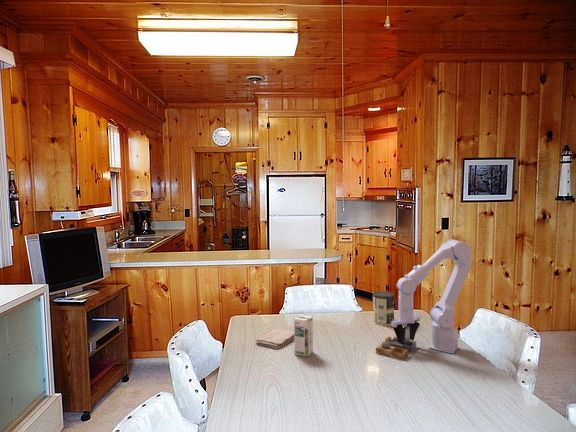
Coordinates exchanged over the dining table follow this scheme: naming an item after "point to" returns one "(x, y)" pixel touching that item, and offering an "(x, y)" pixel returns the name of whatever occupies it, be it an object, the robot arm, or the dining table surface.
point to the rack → (391, 351)
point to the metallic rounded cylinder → (406, 335)
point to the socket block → (406, 347)
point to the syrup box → (303, 335)
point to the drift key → (390, 340)
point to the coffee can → (383, 308)
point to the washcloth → (276, 338)
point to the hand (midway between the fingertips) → (405, 341)
